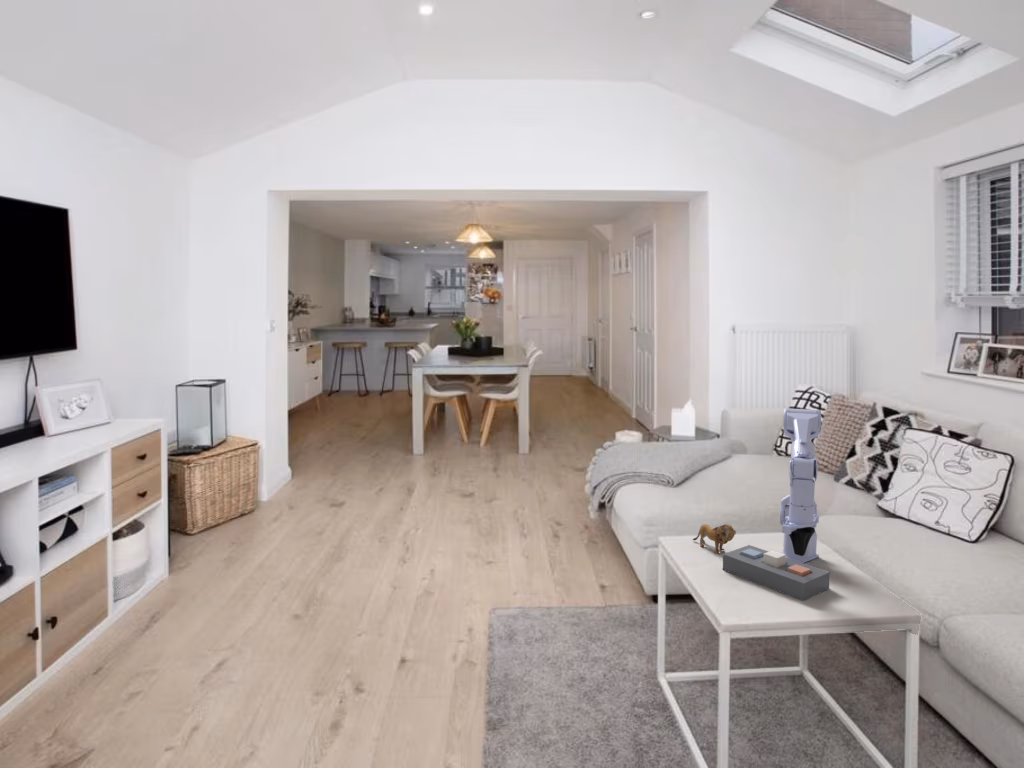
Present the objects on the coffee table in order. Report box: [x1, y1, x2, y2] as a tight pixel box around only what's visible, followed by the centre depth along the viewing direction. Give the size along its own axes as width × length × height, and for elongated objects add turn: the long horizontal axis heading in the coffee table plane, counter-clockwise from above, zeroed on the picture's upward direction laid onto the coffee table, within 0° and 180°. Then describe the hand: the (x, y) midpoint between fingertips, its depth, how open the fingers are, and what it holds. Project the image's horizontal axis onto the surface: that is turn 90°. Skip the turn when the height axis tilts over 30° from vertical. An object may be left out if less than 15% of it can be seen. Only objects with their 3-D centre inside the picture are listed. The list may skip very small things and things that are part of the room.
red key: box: [787, 564, 810, 577], centre depth 165 cm, size 4×4×3 cm
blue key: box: [741, 549, 762, 560], centre depth 176 cm, size 4×4×3 cm
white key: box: [763, 549, 786, 568], centre depth 170 cm, size 4×4×3 cm
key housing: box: [722, 544, 831, 602], centre depth 171 cm, size 12×24×4 cm, turn 35°
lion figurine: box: [692, 523, 737, 554], centre depth 193 cm, size 15×5×9 cm, turn 37°
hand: (799, 554), depth 164 cm, fingers closed
